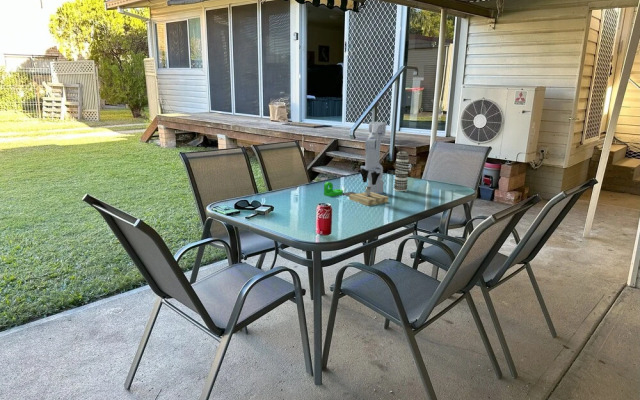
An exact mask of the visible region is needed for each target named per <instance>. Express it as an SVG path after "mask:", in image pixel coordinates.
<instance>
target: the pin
mask: <svg viewBox="0 0 640 400" xmlns="http://www.w3.org/2000/svg"><path fill="white" fill-rule="evenodd" d="M364 189H365V191H364V192H365V196H367V197H370V196H371V187H368V186H365V187H364Z"/></svg>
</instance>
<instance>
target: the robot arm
mask: <svg viewBox="0 0 640 400" xmlns="http://www.w3.org/2000/svg"><path fill="white" fill-rule="evenodd" d="M368 130H369V134H368V136H367V139H366V140H365V142H364V143H365V145H364V147H365V149H364V150H365V151H364V152H365V160H364V161H365V164H364V165H360V170H359V172H360V176H361V178H362V183H367V182H368V183H367V187H371V192H373V193H376V194H384V193H385V191H384V179H383V175H384V167H383V165H382V164H381V163H380V156H381V155H380V153H381V145H382V144H381V143H382V142H381V141H382V139H383V137H385V135H386V130H387V123H386V122H385V121H370V122H369V124H368Z"/></svg>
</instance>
